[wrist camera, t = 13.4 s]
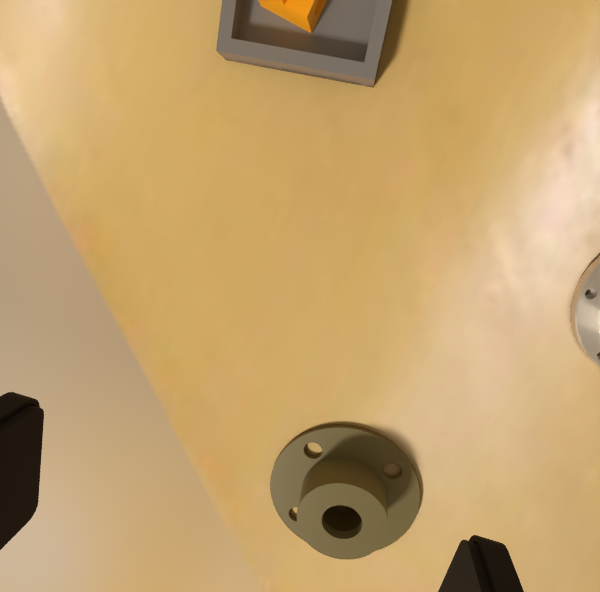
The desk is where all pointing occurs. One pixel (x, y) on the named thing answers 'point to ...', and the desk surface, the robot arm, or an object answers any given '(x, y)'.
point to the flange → (345, 491)
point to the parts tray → (308, 39)
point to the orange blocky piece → (297, 11)
